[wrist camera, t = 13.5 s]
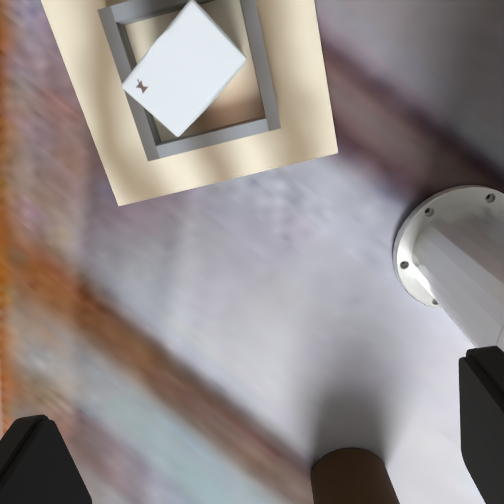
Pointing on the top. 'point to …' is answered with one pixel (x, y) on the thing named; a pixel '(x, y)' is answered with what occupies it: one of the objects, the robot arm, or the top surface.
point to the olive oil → (352, 479)
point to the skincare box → (185, 69)
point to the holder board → (218, 112)
